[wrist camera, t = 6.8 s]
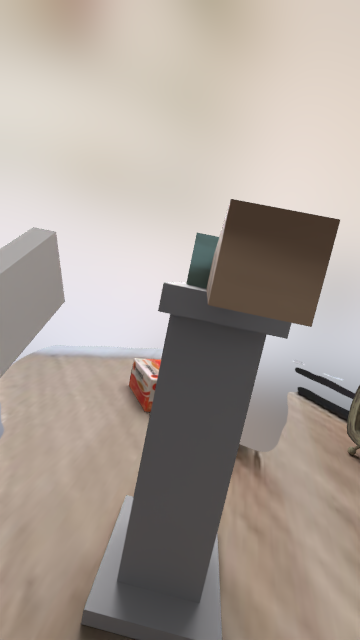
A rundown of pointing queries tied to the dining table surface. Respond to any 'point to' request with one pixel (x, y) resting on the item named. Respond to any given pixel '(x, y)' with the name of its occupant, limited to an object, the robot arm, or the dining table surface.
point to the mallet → (265, 262)
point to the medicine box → (144, 381)
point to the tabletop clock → (354, 422)
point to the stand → (182, 476)
